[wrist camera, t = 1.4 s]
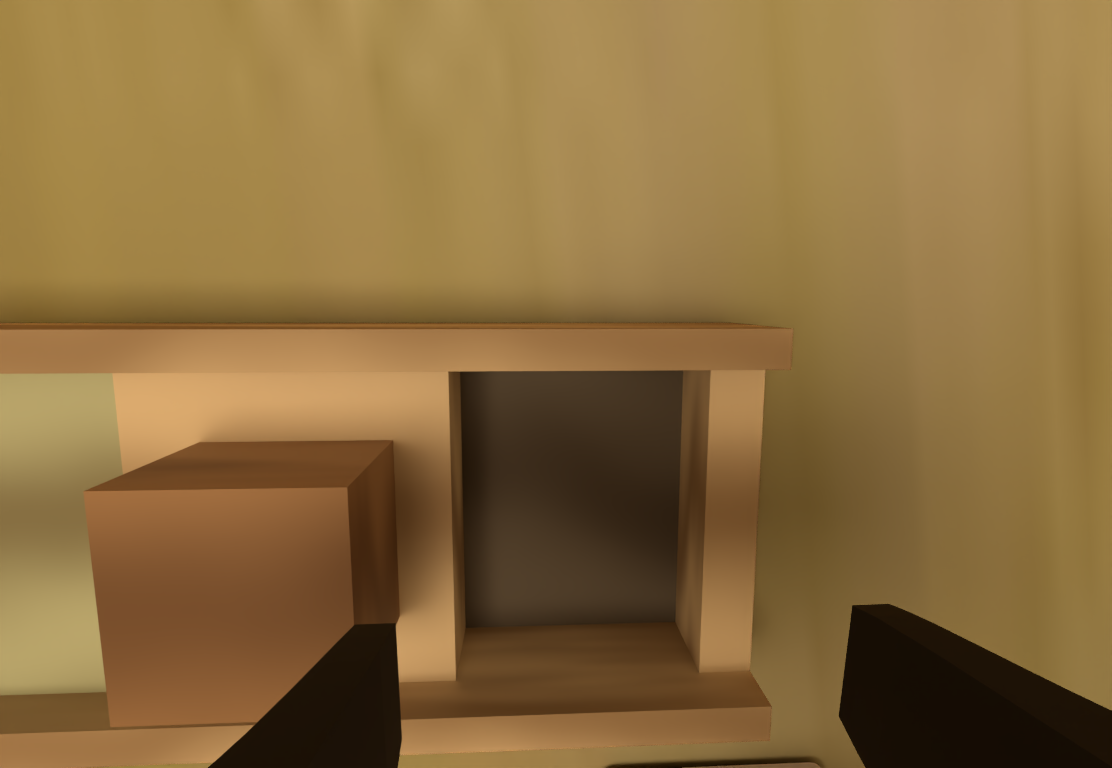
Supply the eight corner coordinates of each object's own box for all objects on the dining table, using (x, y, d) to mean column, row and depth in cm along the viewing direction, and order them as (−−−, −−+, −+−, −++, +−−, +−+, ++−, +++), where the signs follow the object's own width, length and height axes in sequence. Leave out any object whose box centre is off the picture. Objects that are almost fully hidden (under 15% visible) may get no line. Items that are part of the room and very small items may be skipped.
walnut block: (399, 616, 16) (358, 718, 12) (214, 620, 16) (110, 726, 12) (392, 440, 15) (347, 487, 11) (199, 442, 15) (83, 491, 11)
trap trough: (715, 643, 20) (769, 740, 16) (-401, 676, 18) (-704, 798, 14) (728, 322, 18) (792, 328, 14) (-488, 323, 17) (-860, 330, 12)
